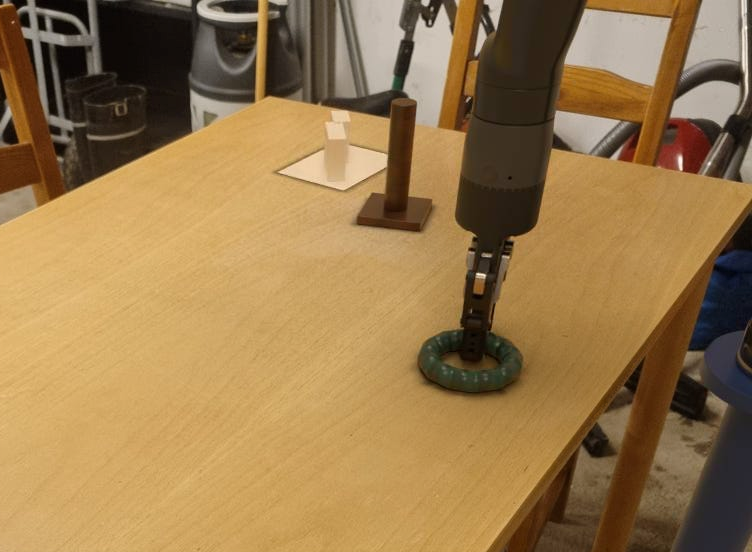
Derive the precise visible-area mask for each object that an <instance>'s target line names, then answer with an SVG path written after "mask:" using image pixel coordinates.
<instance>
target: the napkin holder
mask: <svg viewBox="0 0 752 552" xmlns="http://www.w3.org/2000/svg"><path fill="white" fill-rule="evenodd" d="M351 123H352V122H351V117H350V114H349V111H348V110H331V111H330V121H325V122H324V143H323V144H324V145H323V146H324V147H323V148H324V149H321V150H319V151H317V152H315V153H313V154H311V155H309V156H308V157H305V158H303V159H301V160H299V161H297V162H295V163H293V164H291V165H289V166H287V167H285V168H283V169H281V170H279V171H277V173H278V174H282V175H285V176H288V177H291V178H296V179H300V180H303V181H306V182H311V183H314V184H318V185H321V186H326V187H329V188H333V189H336V190H340V191H344V192H345V191H346V190H348V189H349V188H351V187H353V186H354V185H357V184H359V183H360V182H362V181H363V180H366V179H367V178H369V177H371V176H373V175H375V174H376V173H378V172H380V171H382V170H383V169H386V168H387V155H388V153H383V152H379V151H376V150H372V149H367V148H364V147H359V146H354V145H351V144H350V142H351V141H350V140H351Z"/></svg>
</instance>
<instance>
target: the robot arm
mask: <svg viewBox="0 0 752 552" xmlns="http://www.w3.org/2000/svg"><path fill="white" fill-rule="evenodd" d="M588 2H589V0H502V5H501V8H500V13H499V17H498V22H497V26H496V30H494V31H492V32H491V33H489V34H488V35H487V37H485V39H484V41H483V43H482V45H481V48H480V52H479V56H478V61H477V67H476V72H475V82H474V90H473V97H472V105H471V111H470V117H469V120H468V124H467V129H466V132H465V135H464V136H465V137H464V143H463V148H462V149H463V150H462V157H461V164H460V171H459V172H460V173H459V179H458V180H459V181H458V186H457V195H456V202H455V210H454V218H455V221H456V224H457V225H458V226H459V227H460V228H461V229H463V230H464V231H466V232H470V233H471V234H474V235H472V239H471V242H470V243H471V244H470V246H468V248H467V253H466V258H465V266H466V274H465V277H464V285H463V289H462V290H463V291H462V298H463V304H462V311H461V312H462V313H461V318H460V320H459V324H460V329H464V331H463V337H462V344H461V350H459V351H460V352H459V359H460V360H462V361H464V362H469V363H480V362H482V360H483V357H484V353H485V352H484V347H485V341H486V335H487V331H490V332H492V328H493V322H494V316H495V311H496V304H497V302H499V300H500V298H501V294H502V288H503V284H504V282H505V281H506V280H507V274H508V271H509V266H510V262H511V260H512V257H513V253H514V248H515V243H516V240H512V239H511V237H513V238H516V237H520V236H524V235H527V234H529V232H532V231H533V230H534V229H535V228H536V226H537V224H538V223H539V217H540V211H541V207H542V201H543V197H544V191H545V188H546V187H545V186H546V181H547V176H548V171H549V166H550V160H551V156H552V150H553V143H554V127H555V120H556V119H555V118H556V114H557V108H558V104H559V98H560V93H561V88H562V82H563V76H564V71H565V62H566V58H567V56H568V53H569V51H570V48H571V46H572V44H573V42H574V39H575V37H576V35H577V32H578V29H579V27H580V24H581V21H582V18H583V15H584V13H585V10H586V7H587V5H588ZM746 330H747V331H746ZM745 333H746V334H745ZM745 333H744V337H743V340H742V343H741V346H740V347H739V349H738V352H737V355H736V359H735V360H736V364H737V366H738V367H739V369H740V370H741V371H742V372H743V373H744V374H746V375H747V376H748V377H750V378H752V317H751V318H750V320H749V321H748V322H747V325H746V328H745Z"/></svg>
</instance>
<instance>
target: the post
mask: <svg viewBox="0 0 752 552" xmlns="http://www.w3.org/2000/svg"><path fill="white" fill-rule="evenodd" d="M390 104H391V105H390V117H389V130H388V144H387V154H388V155H387V167H386V168H385V169H386V170H385V182H384V193H383V192H373V191H372V192H371V193H370V195H369V197H368V198H367V200H366V201H365V202H364V204H363V206H362V208H361V209H360V211H359V212H358V214H357V216H356V217H357V218H356V224H357V225H364V226H372V227H380V228H390V229H398V230H399V229H400V230H406V231H416V232H420V231H421V230H422V228H423V225H424V223H425V221H426V220H427V217H428V215H429V213H430V211H431V209H432V207H433V198H427V197H417V196H410V185H411V172H412V165H413V164H412V162H413V153H414V142H415V141H414V140H415V130H416V119H417V109H418V101H417V100H416V99H413V98H411V97H410V98H409V97H398V98H394V99H392V100H391V103H390Z"/></svg>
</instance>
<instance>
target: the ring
mask: <svg viewBox="0 0 752 552" xmlns="http://www.w3.org/2000/svg"><path fill="white" fill-rule="evenodd" d="M463 331H464V328H458V329H449V330H443V331H441V332H439V333H437V334H435V335H432V336H431V337H429V338H427V339H426V340H424V342H423V343H422V345H421V348H420V349H419V353H418V355H417V364H418V366H419V367H420V369H421V370H422V372H423V373H424V375H425V376H426V378H427V379H428V380H430V381H432V382H434V383H436V384H437V385H440V386H442V387H444V388H446V389H449V390H454V391H459V392H465V393H466V392H467V393H473V394H474V393H484V392H491V391H498V390H501V389H502V388H504V387H505V386H507V385H509V384H511V383H513V382H514V381H516V380H517V379H519V377H520V375H521V372H522V368H523V363H524V356H523V354H522V352H521V351H520V350H519V348H518V347H517V346H516V345H515V343H514V342H513V341H512V340H511V339H508V338H506V337H504V336H502V335H499V334H497V333H495V332H493V331H487V335H486V341H485V347H484V353H485V354H487V355H489V356H492V357H494V358H496V359H497V360H498V361H499V362H500V364H498V365H497V366H495V367H493V368H486V369H479V370H474V369H473V370H472V369H466V368H460V367H456V366H453V365H451V364H449V363H447V362H445V361H443V360H442V359H441V357H440V356H443V355H444V354H446V353H448V352H453V351H461V344H462V337H463Z"/></svg>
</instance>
